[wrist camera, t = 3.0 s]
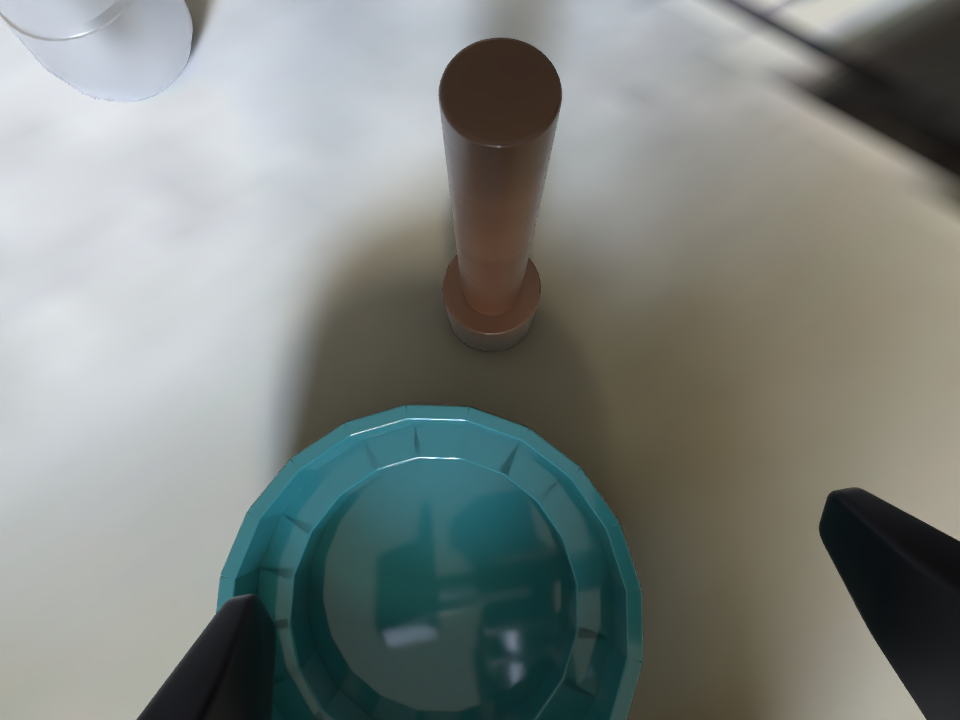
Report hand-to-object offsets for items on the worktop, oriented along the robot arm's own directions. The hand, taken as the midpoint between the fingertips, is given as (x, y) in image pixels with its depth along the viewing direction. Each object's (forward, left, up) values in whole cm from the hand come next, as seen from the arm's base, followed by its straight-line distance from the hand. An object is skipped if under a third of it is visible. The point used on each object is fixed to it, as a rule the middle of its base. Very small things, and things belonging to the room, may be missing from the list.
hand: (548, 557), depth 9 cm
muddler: (+8, -2, -14) cm, 16 cm away
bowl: (-2, +3, -14) cm, 14 cm away
